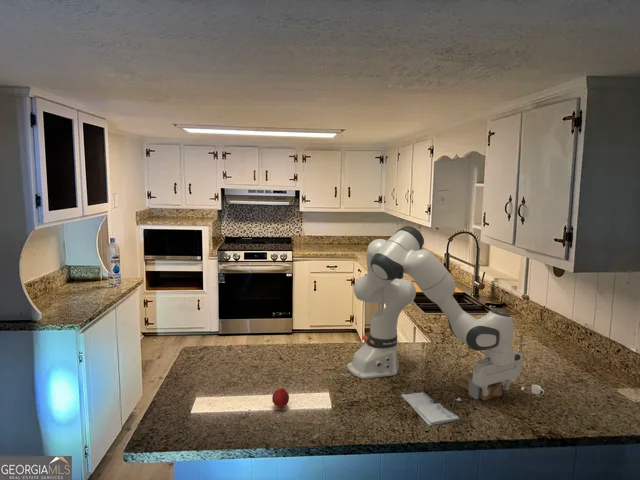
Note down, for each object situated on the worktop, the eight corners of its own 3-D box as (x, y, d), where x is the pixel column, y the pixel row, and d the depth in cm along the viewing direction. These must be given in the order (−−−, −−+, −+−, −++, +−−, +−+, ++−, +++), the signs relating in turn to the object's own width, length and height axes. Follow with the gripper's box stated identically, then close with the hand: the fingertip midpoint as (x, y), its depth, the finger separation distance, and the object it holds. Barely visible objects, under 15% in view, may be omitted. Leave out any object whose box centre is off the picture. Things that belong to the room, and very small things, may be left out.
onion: (280, 401, 148) (280, 380, 147) (292, 407, 144) (292, 385, 143) (269, 408, 144) (268, 387, 143) (280, 414, 140) (280, 392, 139)
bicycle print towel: (429, 427, 134) (429, 421, 133) (400, 397, 153) (400, 391, 153) (479, 418, 139) (479, 412, 139) (445, 390, 158) (445, 384, 158)
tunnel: (476, 400, 148) (477, 384, 147) (468, 395, 151) (469, 379, 150) (501, 393, 153) (502, 377, 152) (493, 388, 156) (494, 373, 156)
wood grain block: (483, 400, 147) (484, 389, 146) (459, 385, 158) (459, 375, 157) (502, 395, 151) (502, 384, 150) (476, 380, 161) (477, 371, 161)
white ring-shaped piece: (516, 392, 156) (517, 382, 155) (532, 389, 159) (533, 379, 158) (536, 404, 148) (537, 393, 147) (552, 400, 151) (553, 389, 150)
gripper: (483, 364, 138) (480, 403, 140) (525, 354, 147) (522, 390, 149) (469, 357, 144) (467, 394, 146) (510, 347, 153) (508, 382, 155)
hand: (495, 392), depth 148 cm, fingers open, 8 cm apart
